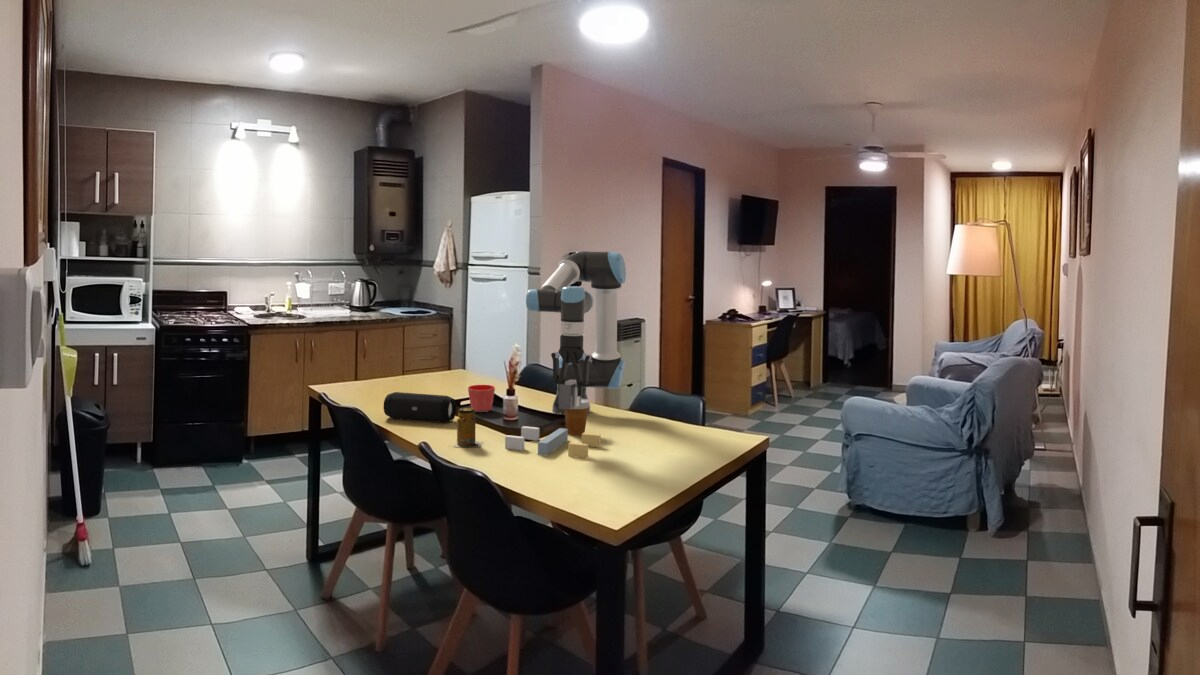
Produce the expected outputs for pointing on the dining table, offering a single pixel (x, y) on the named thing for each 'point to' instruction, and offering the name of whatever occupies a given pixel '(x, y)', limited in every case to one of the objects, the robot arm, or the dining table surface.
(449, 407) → the portable speaker
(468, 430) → the condiment
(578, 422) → the disposable coffee cup
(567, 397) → the steel block
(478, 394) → the flower pot
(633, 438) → the dining table surface
